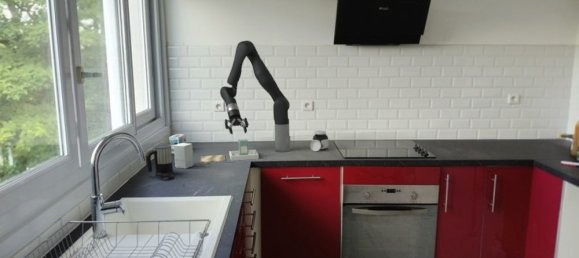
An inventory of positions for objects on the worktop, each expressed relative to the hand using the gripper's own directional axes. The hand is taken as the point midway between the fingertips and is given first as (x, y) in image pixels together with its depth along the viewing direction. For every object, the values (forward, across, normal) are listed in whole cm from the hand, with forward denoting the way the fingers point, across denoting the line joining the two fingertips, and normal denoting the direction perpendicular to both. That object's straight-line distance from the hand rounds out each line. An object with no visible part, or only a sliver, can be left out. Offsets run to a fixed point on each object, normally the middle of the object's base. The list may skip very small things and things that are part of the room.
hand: (238, 133), depth 256 cm
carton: (+15, 0, +3) cm, 16 cm away
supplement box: (+20, -35, 0) cm, 40 cm away
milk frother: (+30, -47, -10) cm, 56 cm away
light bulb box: (-8, -34, +28) cm, 44 cm away
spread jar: (+16, +50, +3) cm, 52 cm away
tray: (+16, 0, +3) cm, 16 cm away
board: (+14, -18, +6) cm, 23 cm away
